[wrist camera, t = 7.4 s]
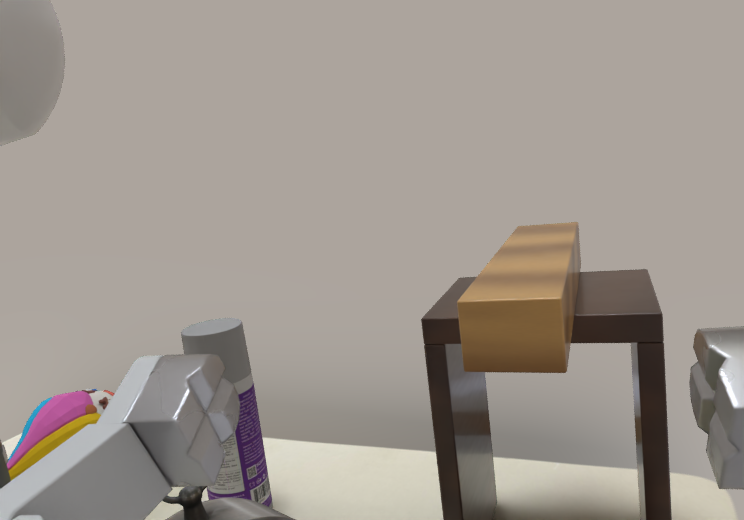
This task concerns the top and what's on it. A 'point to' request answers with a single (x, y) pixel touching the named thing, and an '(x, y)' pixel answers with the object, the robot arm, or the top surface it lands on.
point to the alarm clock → (219, 507)
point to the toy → (56, 425)
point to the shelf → (591, 325)
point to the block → (523, 303)
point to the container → (245, 447)
